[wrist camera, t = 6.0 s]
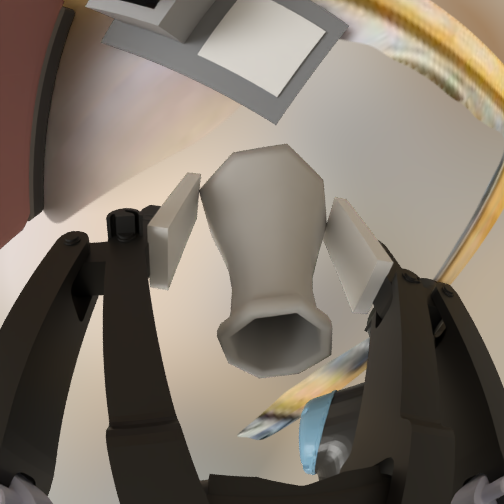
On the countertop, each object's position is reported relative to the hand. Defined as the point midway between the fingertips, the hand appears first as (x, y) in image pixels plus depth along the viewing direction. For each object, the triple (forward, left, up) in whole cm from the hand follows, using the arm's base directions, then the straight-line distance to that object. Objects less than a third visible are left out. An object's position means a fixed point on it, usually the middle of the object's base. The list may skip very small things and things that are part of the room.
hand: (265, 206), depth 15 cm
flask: (0, 0, -1) cm, 1 cm away
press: (+12, -11, -16) cm, 22 cm away
